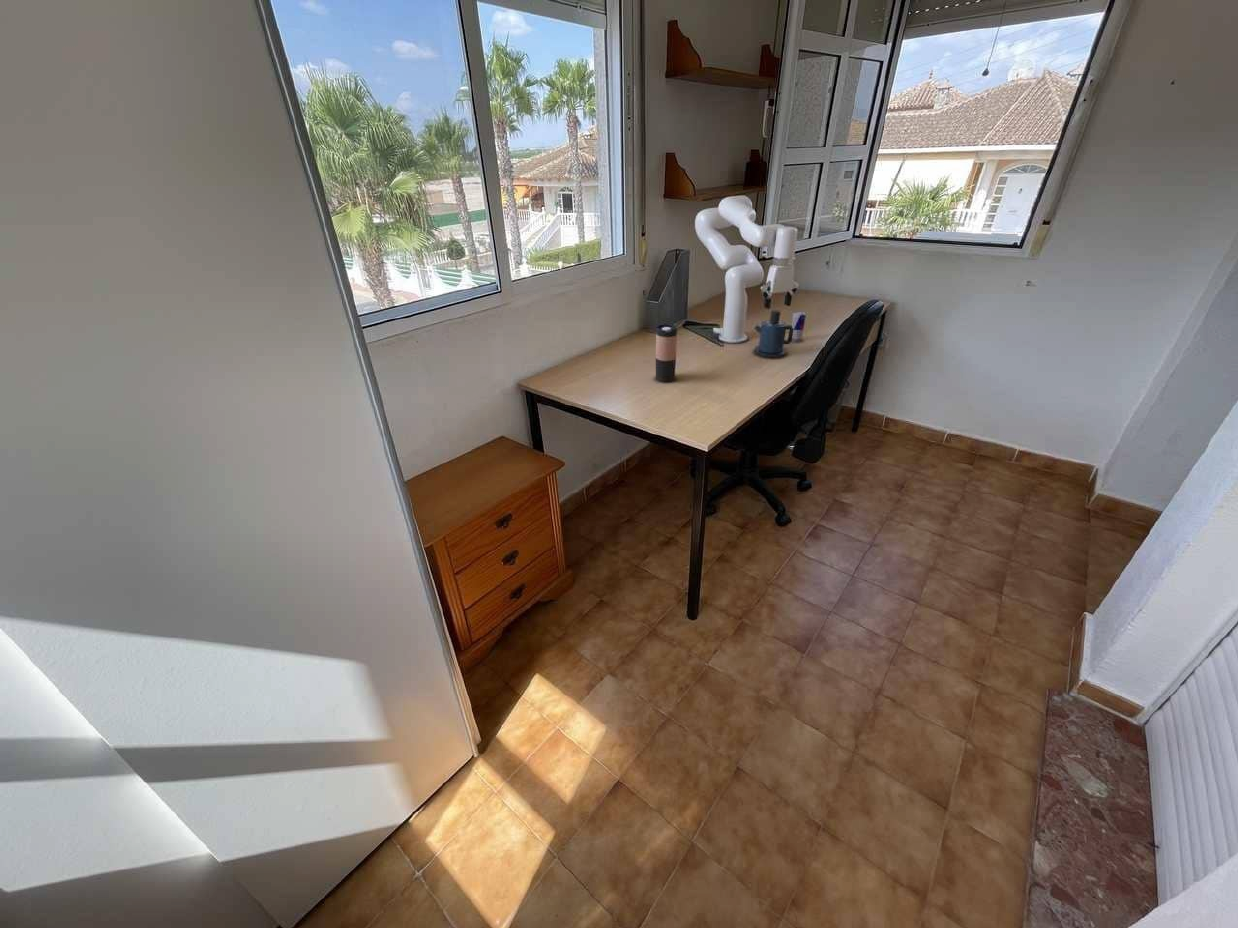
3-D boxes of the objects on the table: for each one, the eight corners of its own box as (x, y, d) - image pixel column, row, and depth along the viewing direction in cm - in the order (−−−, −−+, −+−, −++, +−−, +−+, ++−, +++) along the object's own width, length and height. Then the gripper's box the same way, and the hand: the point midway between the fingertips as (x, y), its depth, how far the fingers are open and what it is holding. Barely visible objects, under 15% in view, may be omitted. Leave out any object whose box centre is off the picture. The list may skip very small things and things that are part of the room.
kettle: (750, 351, 218) (754, 313, 210) (753, 343, 226) (757, 306, 218) (789, 355, 214) (795, 316, 205) (791, 347, 222) (797, 309, 213)
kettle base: (752, 356, 218) (752, 353, 217) (756, 346, 228) (756, 343, 227) (784, 360, 214) (785, 356, 213) (787, 349, 224) (787, 346, 223)
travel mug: (662, 373, 204) (664, 322, 193) (679, 378, 200) (681, 326, 189) (651, 379, 199) (652, 328, 188) (667, 384, 195) (669, 332, 184)
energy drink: (801, 342, 231) (806, 315, 225) (789, 341, 232) (793, 315, 226) (800, 338, 236) (805, 312, 230) (788, 338, 237) (792, 311, 230)
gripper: (795, 258, 207) (789, 302, 216) (758, 262, 202) (753, 307, 211) (807, 261, 201) (800, 306, 210) (769, 265, 196) (764, 311, 205)
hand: (777, 306), depth 210 cm, fingers open, 9 cm apart
